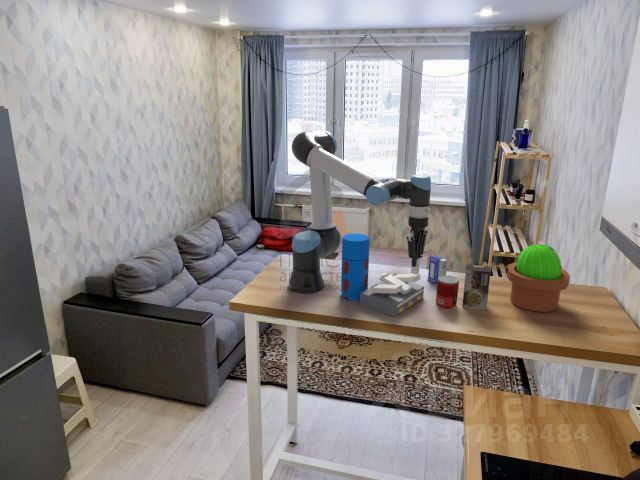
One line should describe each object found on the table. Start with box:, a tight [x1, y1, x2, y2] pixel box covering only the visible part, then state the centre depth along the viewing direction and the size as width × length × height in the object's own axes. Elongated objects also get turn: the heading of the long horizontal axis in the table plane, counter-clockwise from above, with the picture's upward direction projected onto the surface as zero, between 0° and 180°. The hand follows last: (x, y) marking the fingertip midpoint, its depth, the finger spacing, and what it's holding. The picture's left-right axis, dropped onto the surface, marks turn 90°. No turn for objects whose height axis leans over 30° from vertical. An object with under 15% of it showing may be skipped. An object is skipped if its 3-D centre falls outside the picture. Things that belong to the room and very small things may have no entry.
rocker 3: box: [391, 273, 421, 283], centre depth 188 cm, size 12×4×2 cm, turn 50°
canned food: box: [435, 274, 460, 309], centre depth 181 cm, size 8×8×11 cm
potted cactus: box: [506, 243, 571, 313], centre depth 181 cm, size 22×22×25 cm
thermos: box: [340, 233, 370, 302], centre depth 188 cm, size 11×11×25 cm
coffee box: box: [461, 263, 492, 311], centre depth 180 cm, size 9×6×16 cm
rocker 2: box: [379, 272, 411, 295], centre depth 183 cm, size 12×4×2 cm, turn 51°
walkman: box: [427, 254, 448, 285], centre depth 202 cm, size 8×3×12 cm, turn 32°
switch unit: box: [359, 281, 425, 318], centre depth 185 cm, size 16×22×7 cm
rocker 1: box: [368, 283, 403, 293], centre depth 178 cm, size 12×4×2 cm, turn 50°
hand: (414, 273), depth 184 cm, fingers closed
